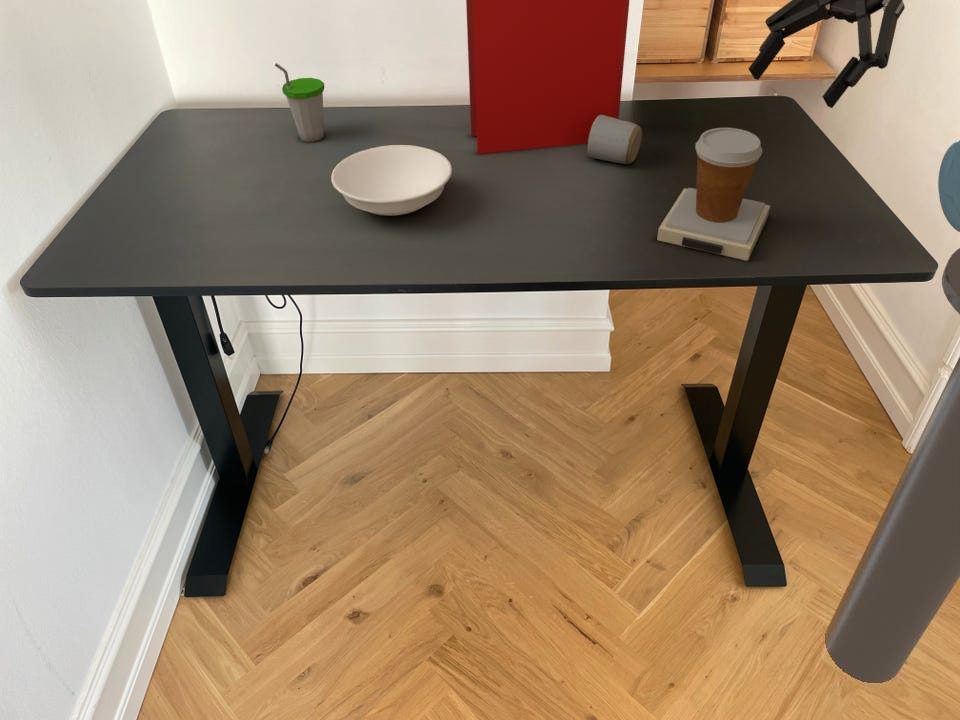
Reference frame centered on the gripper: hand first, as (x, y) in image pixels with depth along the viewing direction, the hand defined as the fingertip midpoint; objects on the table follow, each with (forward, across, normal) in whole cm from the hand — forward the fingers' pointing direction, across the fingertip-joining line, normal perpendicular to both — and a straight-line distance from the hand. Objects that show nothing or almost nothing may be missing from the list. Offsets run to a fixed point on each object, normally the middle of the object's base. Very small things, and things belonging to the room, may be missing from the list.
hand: (788, 88), depth 115 cm
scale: (+22, 0, -7) cm, 23 cm away
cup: (+49, +70, +20) cm, 88 cm away
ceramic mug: (+19, +29, -10) cm, 36 cm away
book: (+23, +43, -5) cm, 49 cm away
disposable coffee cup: (+20, 0, -5) cm, 20 cm away
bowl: (+48, +36, +20) cm, 64 cm away
